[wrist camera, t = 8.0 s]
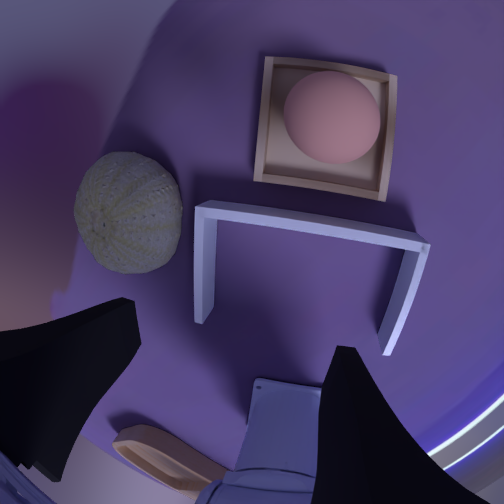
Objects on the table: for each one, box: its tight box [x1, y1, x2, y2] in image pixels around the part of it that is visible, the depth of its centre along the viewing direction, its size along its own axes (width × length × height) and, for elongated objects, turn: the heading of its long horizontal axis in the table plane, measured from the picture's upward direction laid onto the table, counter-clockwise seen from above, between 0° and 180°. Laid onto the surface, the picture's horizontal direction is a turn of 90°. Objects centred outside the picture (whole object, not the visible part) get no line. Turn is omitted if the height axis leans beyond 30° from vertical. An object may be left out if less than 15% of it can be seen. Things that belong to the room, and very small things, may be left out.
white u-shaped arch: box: [194, 200, 431, 356], centre depth 17 cm, size 8×14×2 cm, turn 85°
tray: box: [253, 56, 397, 202], centre depth 14 cm, size 8×8×1 cm
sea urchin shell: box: [74, 151, 183, 274], centre depth 18 cm, size 9×8×8 cm
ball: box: [284, 71, 380, 164], centre depth 12 cm, size 5×5×5 cm
